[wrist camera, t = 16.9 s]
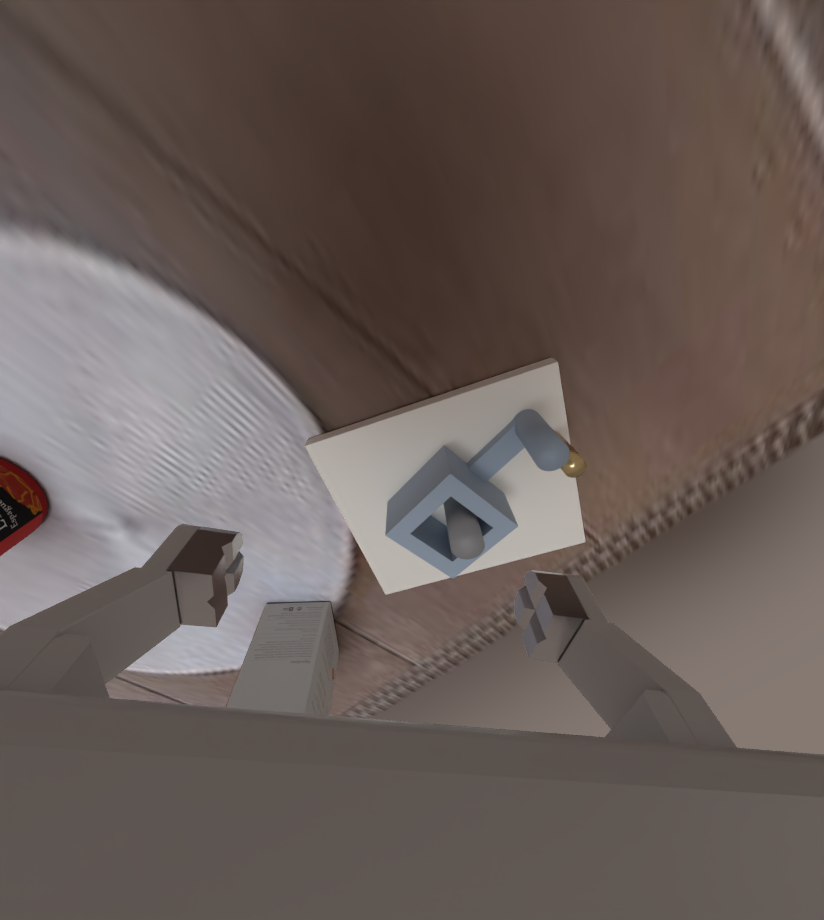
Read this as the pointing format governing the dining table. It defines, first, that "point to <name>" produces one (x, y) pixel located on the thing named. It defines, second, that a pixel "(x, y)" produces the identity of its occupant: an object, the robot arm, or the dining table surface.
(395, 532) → the grey socket with handle
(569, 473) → the dowel
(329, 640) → the small box
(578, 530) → the post board
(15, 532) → the canned food
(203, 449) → the dining table surface
